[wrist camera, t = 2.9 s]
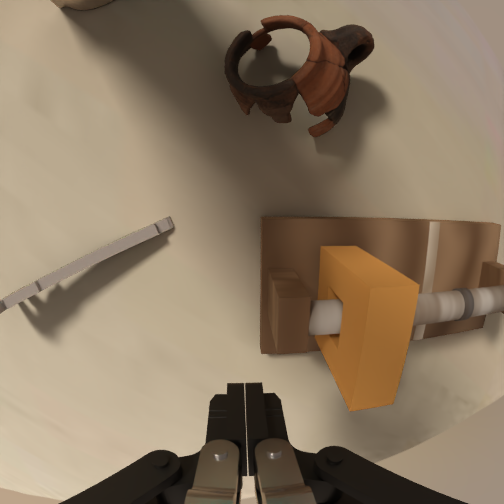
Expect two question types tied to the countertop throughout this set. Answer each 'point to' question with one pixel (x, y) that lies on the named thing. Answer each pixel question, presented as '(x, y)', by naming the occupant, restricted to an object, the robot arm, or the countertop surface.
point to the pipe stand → (391, 253)
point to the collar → (366, 324)
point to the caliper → (86, 262)
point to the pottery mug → (302, 71)
